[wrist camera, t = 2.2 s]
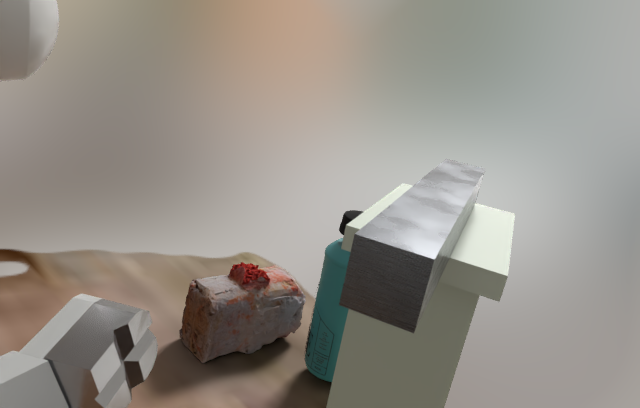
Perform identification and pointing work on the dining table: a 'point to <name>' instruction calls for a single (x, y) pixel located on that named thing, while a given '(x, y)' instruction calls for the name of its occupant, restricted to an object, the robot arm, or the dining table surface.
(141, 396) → the dining table surface
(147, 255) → the dining table surface
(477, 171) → the graphite bar
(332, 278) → the beverage bottle
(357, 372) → the sage stand
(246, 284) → the food item
